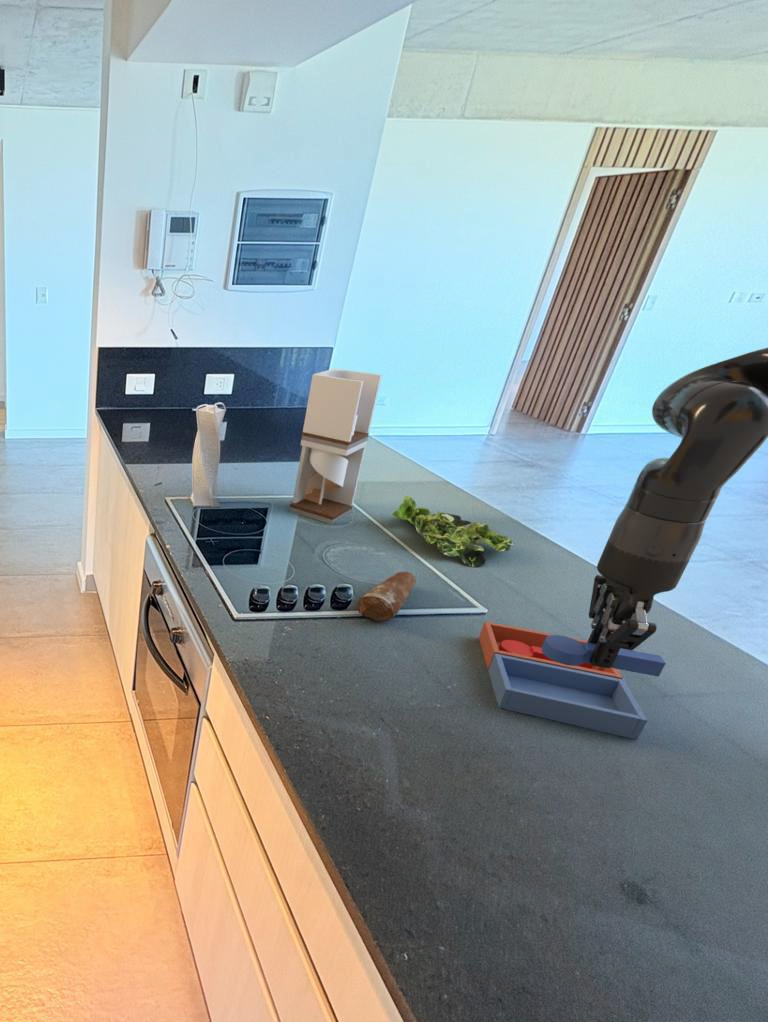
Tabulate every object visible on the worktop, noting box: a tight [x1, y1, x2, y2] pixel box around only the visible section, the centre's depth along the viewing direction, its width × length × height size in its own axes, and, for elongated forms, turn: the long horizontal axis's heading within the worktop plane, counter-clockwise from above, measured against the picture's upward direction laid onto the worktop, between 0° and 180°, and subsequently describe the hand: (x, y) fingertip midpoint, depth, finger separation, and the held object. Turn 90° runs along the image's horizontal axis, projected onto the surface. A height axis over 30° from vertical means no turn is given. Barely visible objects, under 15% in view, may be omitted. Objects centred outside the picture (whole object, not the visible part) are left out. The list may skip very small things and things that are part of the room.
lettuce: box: [392, 495, 515, 568], centre depth 142 cm, size 18×25×7 cm
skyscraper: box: [188, 401, 227, 508], centre depth 159 cm, size 8×8×28 cm
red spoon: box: [499, 640, 593, 669], centre depth 101 cm, size 12×5×2 cm, turn 66°
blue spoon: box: [542, 634, 667, 677], centre depth 82 cm, size 12×5×2 cm, turn 66°
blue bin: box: [487, 653, 649, 740], centre depth 93 cm, size 17×10×4 cm, turn 65°
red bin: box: [478, 621, 624, 680], centre depth 101 cm, size 17×10×4 cm, turn 65°
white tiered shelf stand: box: [288, 367, 383, 525], centre depth 151 cm, size 11×11×35 cm
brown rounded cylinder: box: [356, 571, 417, 622], centre depth 118 cm, size 6×19×6 cm, turn 133°
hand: (596, 659), depth 82 cm, fingers closed on blue spoon, 2 cm apart
